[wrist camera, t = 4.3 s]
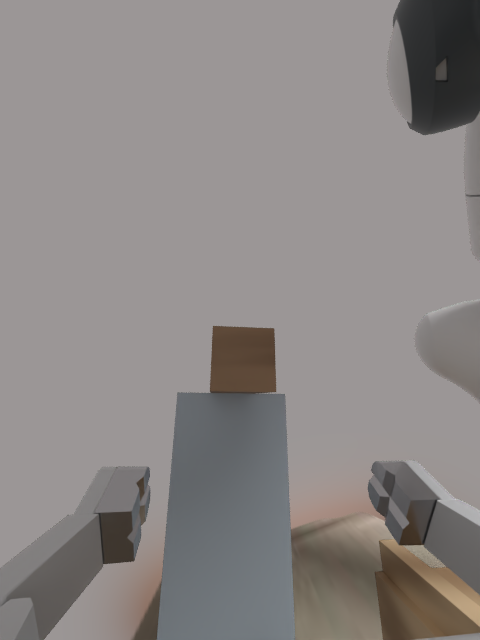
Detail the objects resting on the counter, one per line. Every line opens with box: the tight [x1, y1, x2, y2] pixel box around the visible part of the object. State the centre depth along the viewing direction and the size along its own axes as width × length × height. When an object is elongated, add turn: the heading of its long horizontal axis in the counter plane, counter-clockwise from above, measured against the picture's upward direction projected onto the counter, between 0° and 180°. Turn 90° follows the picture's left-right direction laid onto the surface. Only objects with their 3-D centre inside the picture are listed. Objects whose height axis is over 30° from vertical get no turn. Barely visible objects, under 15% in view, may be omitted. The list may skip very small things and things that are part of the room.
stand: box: [157, 393, 295, 640], centre depth 27 cm, size 16×10×26 cm, turn 6°
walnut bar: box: [210, 326, 276, 394], centre depth 25 cm, size 20×4×4 cm, turn 6°
